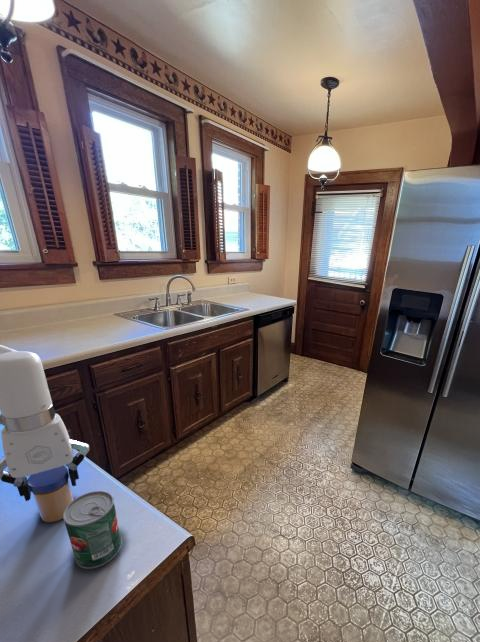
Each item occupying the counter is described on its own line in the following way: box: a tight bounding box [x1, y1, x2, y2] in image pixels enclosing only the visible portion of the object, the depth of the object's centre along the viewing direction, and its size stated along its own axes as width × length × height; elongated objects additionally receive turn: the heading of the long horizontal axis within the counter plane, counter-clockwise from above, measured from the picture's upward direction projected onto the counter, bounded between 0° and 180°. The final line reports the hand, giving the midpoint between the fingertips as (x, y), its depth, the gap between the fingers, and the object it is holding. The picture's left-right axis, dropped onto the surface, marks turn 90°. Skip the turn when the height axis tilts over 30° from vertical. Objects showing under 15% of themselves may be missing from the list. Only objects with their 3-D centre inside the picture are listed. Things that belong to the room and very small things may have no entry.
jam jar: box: [32, 479, 75, 523], centre depth 66 cm, size 6×6×9 cm
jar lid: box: [27, 465, 70, 494], centre depth 65 cm, size 7×7×2 cm
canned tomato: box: [63, 490, 123, 570], centre depth 58 cm, size 8×8×11 cm
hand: (51, 488), depth 66 cm, fingers open, 7 cm apart
